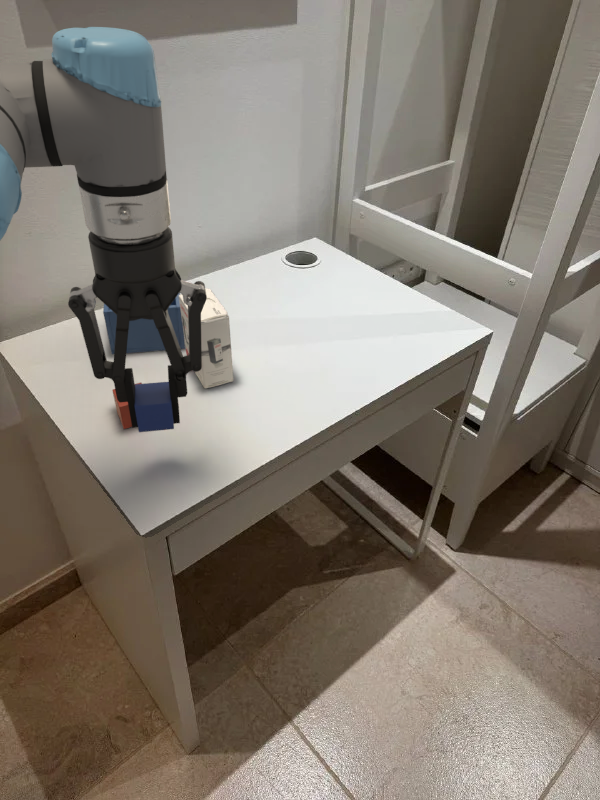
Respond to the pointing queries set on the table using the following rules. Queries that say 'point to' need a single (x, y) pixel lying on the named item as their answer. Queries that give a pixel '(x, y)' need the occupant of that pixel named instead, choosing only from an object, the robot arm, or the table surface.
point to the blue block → (153, 407)
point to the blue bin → (145, 330)
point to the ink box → (212, 341)
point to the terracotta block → (123, 411)
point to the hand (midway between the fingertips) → (156, 417)
